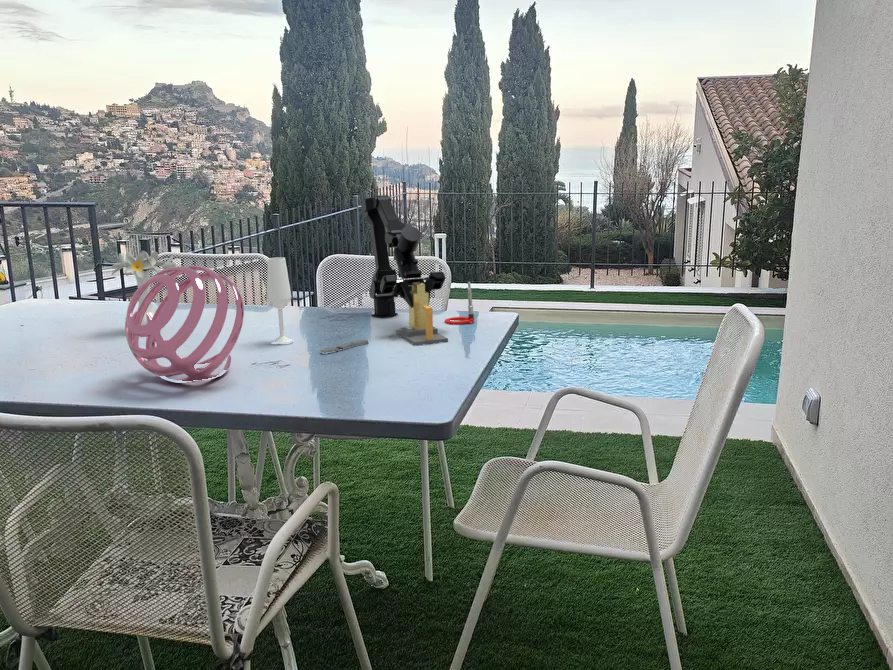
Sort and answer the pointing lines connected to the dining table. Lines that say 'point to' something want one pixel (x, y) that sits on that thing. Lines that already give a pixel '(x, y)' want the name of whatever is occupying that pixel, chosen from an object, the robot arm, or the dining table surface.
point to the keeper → (423, 331)
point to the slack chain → (346, 346)
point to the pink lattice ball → (165, 314)
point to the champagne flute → (278, 290)
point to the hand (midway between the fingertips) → (420, 306)
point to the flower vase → (142, 272)
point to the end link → (418, 306)
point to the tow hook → (470, 309)
